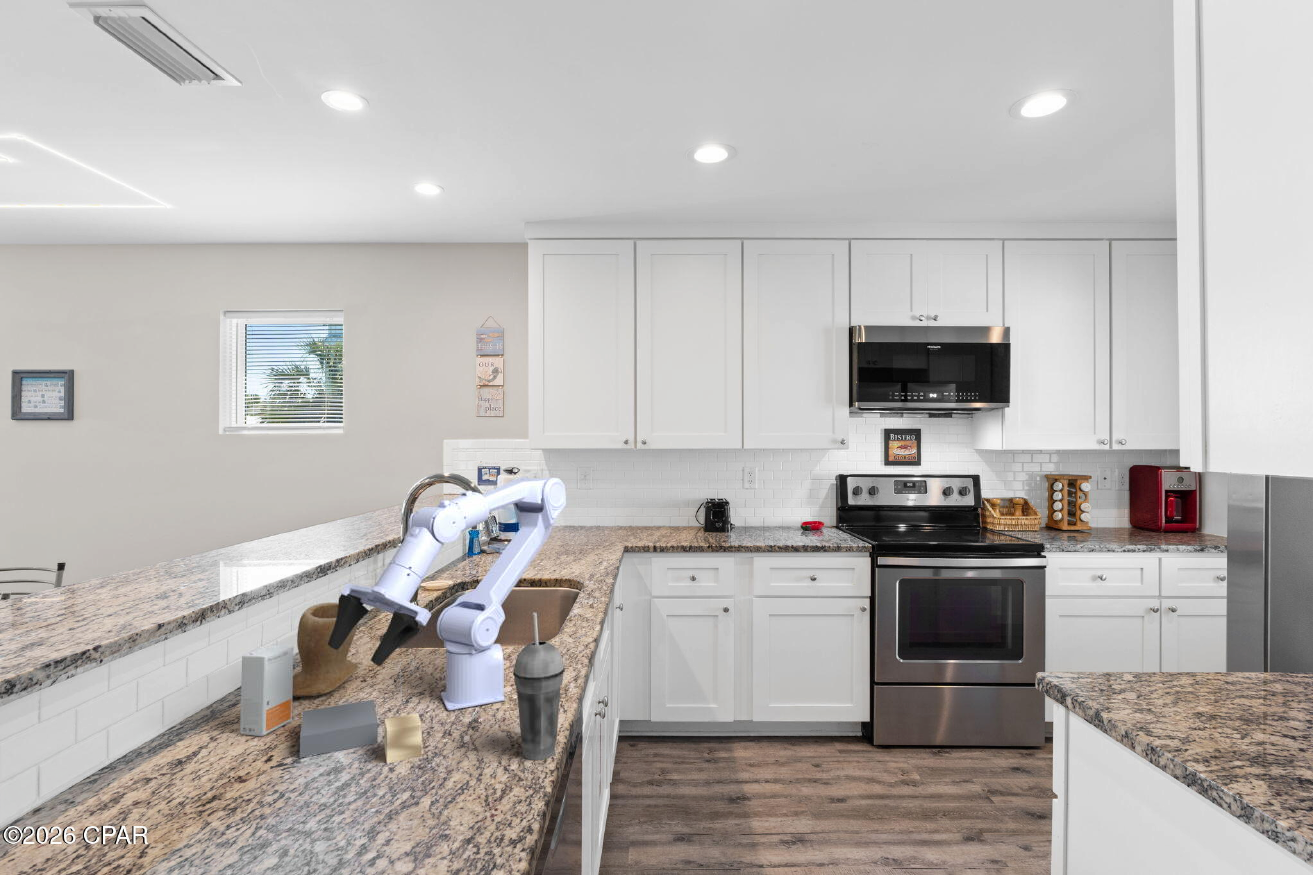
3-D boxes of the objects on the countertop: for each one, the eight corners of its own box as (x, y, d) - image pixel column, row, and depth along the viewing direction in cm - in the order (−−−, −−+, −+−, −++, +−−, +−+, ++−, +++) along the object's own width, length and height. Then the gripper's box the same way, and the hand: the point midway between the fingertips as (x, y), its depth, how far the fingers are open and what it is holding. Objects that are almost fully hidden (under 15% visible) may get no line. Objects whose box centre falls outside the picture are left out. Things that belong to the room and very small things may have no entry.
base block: (373, 718, 102) (373, 699, 102) (377, 743, 93) (377, 722, 94) (302, 730, 98) (303, 711, 98) (299, 758, 89) (300, 736, 89)
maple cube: (417, 744, 93) (417, 713, 94) (421, 756, 89) (421, 724, 90) (384, 750, 91) (384, 719, 92) (386, 764, 87) (387, 730, 88)
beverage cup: (573, 745, 92) (573, 606, 93) (549, 768, 86) (549, 619, 86) (529, 738, 95) (529, 603, 95) (502, 760, 88) (502, 615, 89)
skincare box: (263, 737, 96) (264, 657, 96) (239, 735, 97) (240, 655, 97) (293, 720, 102) (294, 645, 102) (271, 718, 103) (271, 644, 103)
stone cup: (338, 701, 110) (338, 614, 110) (268, 702, 109) (269, 614, 110) (376, 671, 125) (376, 595, 125) (315, 672, 125) (315, 595, 125)
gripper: (355, 548, 99) (299, 630, 91) (435, 574, 95) (384, 661, 87) (374, 568, 104) (323, 647, 97) (450, 594, 101) (403, 677, 93)
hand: (353, 655), depth 92 cm, fingers open, 7 cm apart
